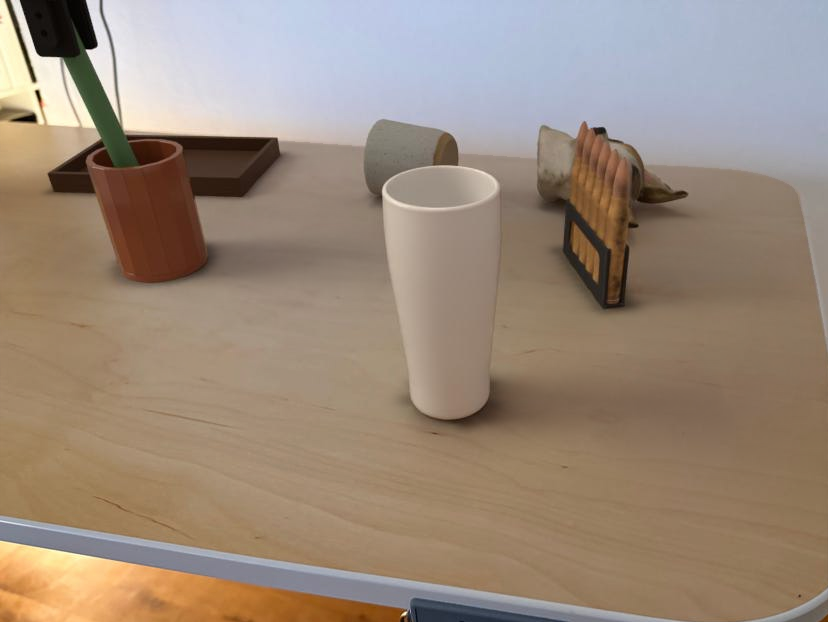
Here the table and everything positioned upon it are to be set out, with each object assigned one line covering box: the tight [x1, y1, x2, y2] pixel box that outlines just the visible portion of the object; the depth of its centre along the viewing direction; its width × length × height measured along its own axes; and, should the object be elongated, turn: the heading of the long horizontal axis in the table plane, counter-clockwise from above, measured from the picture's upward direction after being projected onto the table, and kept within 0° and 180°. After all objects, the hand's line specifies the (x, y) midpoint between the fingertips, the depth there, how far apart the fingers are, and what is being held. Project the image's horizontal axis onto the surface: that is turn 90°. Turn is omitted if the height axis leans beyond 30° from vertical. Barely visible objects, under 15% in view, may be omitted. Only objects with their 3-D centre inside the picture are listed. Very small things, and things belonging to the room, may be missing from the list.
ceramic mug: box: [363, 118, 460, 196], centre depth 78 cm, size 11×8×8 cm
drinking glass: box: [381, 165, 503, 421], centre depth 46 cm, size 7×7×15 cm
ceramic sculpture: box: [536, 124, 689, 229], centre depth 73 cm, size 11×9×15 cm
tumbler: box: [86, 139, 209, 283], centre depth 64 cm, size 7×7×10 cm
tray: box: [47, 134, 281, 197], centre depth 85 cm, size 13×21×2 cm, turn 85°
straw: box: [61, 19, 139, 168], centre depth 59 cm, size 4×2×16 cm, turn 85°
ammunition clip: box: [562, 120, 631, 309], centre depth 61 cm, size 11×2×12 cm, turn 12°
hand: (68, 50), depth 57 cm, fingers closed on straw, 1 cm apart
